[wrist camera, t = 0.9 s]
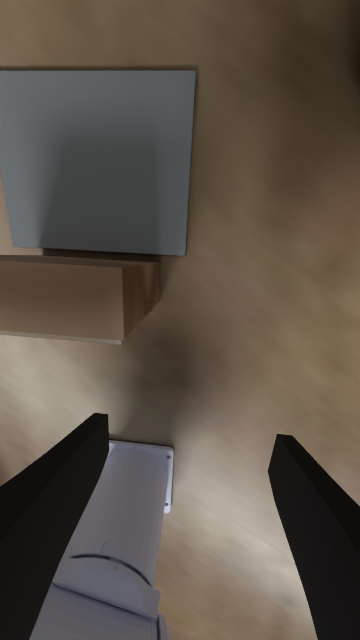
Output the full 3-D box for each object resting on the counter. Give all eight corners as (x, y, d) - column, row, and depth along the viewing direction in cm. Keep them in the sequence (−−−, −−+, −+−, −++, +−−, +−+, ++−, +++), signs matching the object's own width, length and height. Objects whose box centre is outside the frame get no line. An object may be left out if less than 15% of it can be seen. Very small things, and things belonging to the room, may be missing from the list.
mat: (185, 255, 17) (185, 255, 16) (18, 246, 18) (13, 246, 17) (195, 77, 14) (195, 70, 13) (-9, 76, 15) (-16, 70, 14)
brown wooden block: (159, 304, 18) (124, 346, 10) (48, 296, 19) (-78, 329, 10) (160, 262, 17) (121, 268, 9) (43, 255, 18) (-102, 254, 9)
